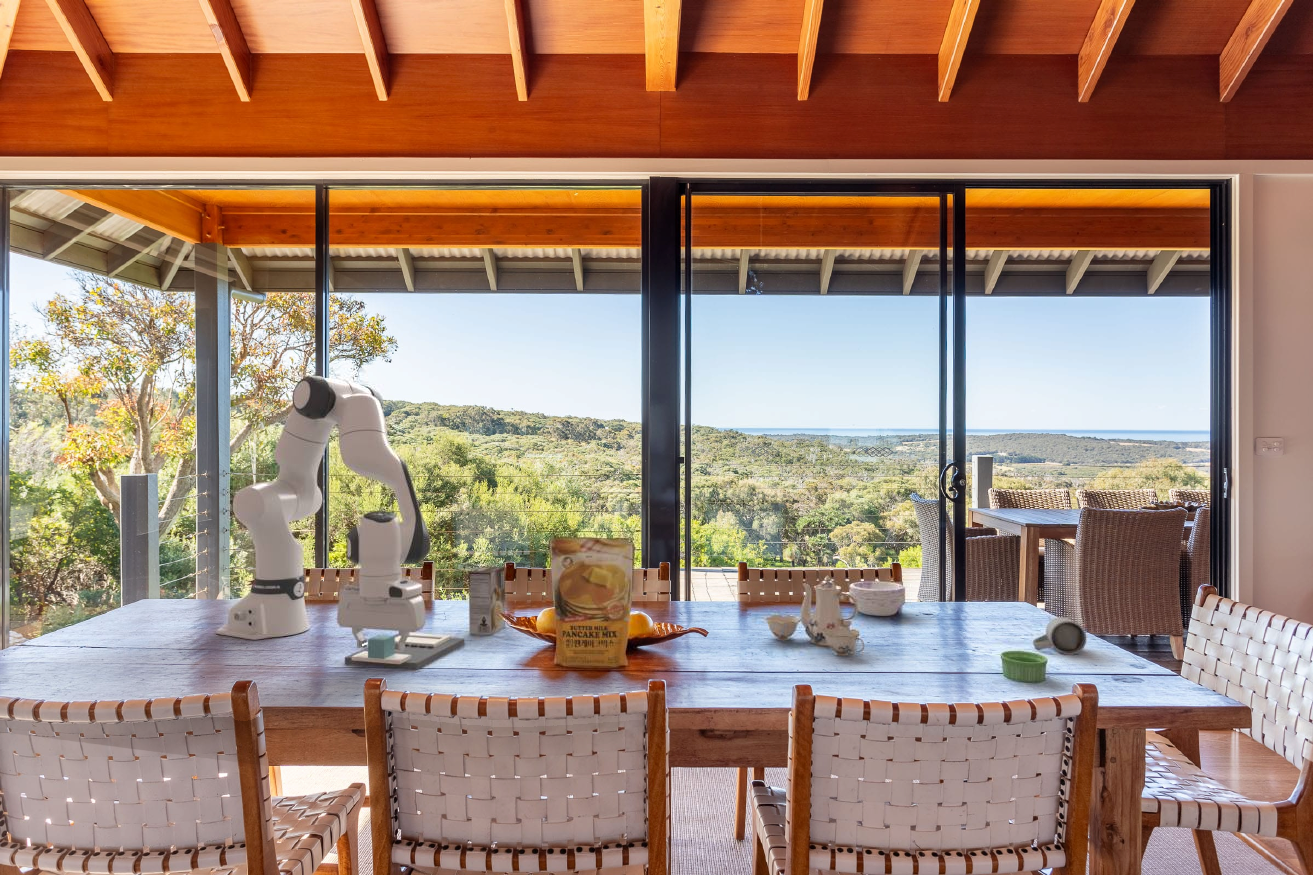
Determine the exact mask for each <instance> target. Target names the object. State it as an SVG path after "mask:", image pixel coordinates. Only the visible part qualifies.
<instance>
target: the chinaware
mask: <svg viewBox="0 0 1313 875" xmlns="http://www.w3.org/2000/svg"><path fill="white" fill-rule="evenodd" d="M802 585H803V587H804V589H805V594H804V598H803V600H802V605H801V608H800V618H798V617H797V616H796V615H793V614H787V615H785V616H783V615H781V614H776V613H775V614H772V615H770V616H769V617H768V616H765V617H764V620H765V621H766V622H767V625H768V629H769V630H770V632H771V634H773V635H774V636H775V637H776V639H775V640H776V641H780V642H783V641H785V642H787V641H790V640H789V639H790V638H791V636H793V635H794V634H795V632H796V631H797V628H798V624H799V623H800V622H801V624H802V626H803V627H804V632H805V634H806V635H807V637H808V638H810V642H811V643H812V644H814V645H818V646H822V647H829V648H830V649H831V650H832V651H834V652H833V653H832V654H834V655H836V656H842V657H846V656H848V655H850V654H851V655H853V654H854V652H857V653H861V652H863V651H864V649H865V642H864V640H863V639H862V638H860V631H859V630H858V629H855V628H852V629H851V628H850V627H851V626H852V619H854V618H855V617H856V616H857V615H858V611H859V610H858V603H857V601H856V599H855V598H854V597H853V596H852V595H851V594H850V593H847V592H844V591H843V592H840V591H841V589H842V587H841V586H839V585H836V584H835V583H834V581H833V580H831V578H830V576H829V575H826V576H825V578H824V580H822V581H821V582H820V584H818V585H817V584H816V585H814V586H813V587H814V590H815V596H816V597H815V598H816V600H815V608H814V611H813V613H812V609H811V605H812V588H811V587H810V585H809V584H808V583H805V582H804V583H802ZM845 596H847V597H849V599H850V598H851V599H852V600H853V602H854V603H853V604H854V612H853V614H852V615H851V616H850V617H846V618H845V617H844V615H843V614H842V610H841V607H840V601H844V600H845ZM859 641H860V642H861V644H862V648H861V649H860V650H858V649H855V646H856V644H857V642H859ZM848 652H849V653H848Z"/></svg>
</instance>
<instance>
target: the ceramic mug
mask: <svg viewBox="0 0 1313 875" xmlns="http://www.w3.org/2000/svg"><path fill="white" fill-rule="evenodd" d="M1032 644H1033V646H1034V649H1035V650H1044V649H1046V648H1050V647H1052V648H1054V649H1055V651H1057V652H1059V653H1061V654H1063V655H1070V656H1071V655H1076V654H1078V653H1080V652H1081V651H1083V649H1084V648H1085V646H1086V644H1087V633H1086V631H1085V629H1084V628H1083V627H1082V626H1081V624H1079V623H1077V622H1075V621H1074V620H1073V619H1070V618H1068V617H1061V616H1060V617H1055V618H1053V619H1051V620H1050V621H1049V622H1048V623H1047V625H1046V628H1045V634H1044V635H1041V636H1038V637H1036V638H1035V639H1034V640H1032Z"/></svg>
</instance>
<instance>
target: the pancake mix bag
mask: <svg viewBox="0 0 1313 875" xmlns="http://www.w3.org/2000/svg"><path fill="white" fill-rule="evenodd" d="M548 549H549V564H550V573H551V574H550V575H551V576H550V577H551V578H550V580H551V593H552V601H553V608H554V628H555V635H556V636H555V637H556V645H555V646H556V648H555V654H554V660H553V661H554V662H553V665H560V666H562V667H567V668H586V669H589V668H591V669H592V668H597V669H599V668H600V669H615V668H616V669H617V668H619V667H622V666H623V667H624V666H628V665H629V664H628V658H627V655H626V651H627V647H628V646H627V645H628V638H629V630H630V629H629V628H630V617H631V610H632V609H631V608H632V602H633V591H634V578H635V577H634V574H635V573H634V571H635V568H634V566H635V556H636V552H635V543H634V542H629V538H625V537H623V538H622V537H617V538H616V537H615V538H613V537H611V538H610V537H607V538H606V537H605V538H604V537H589V536H588V537H584V536H583V537H581V536H578V537H577V536H575V537H573V536H570V537H569V536H567V537H554V538H552V539H550V540H548Z"/></svg>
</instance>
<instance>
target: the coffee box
mask: <svg viewBox="0 0 1313 875" xmlns="http://www.w3.org/2000/svg"><path fill="white" fill-rule="evenodd" d="M468 604H469V607H468V610H469V611H468V614H469V620H468V621H469V624H468V625H469V635H477V634H479V635H481V636H493V635H494V634H496V633H497V632H499V631H501V630H503V629H504V628H505V627H506V620H505V621H504V620H503V618H502V617H501V616H500V615H499V614H500V613H504V614H505V615H506V567H505V566H493V565H492V566H488V565H486V566H481V567H479V568H476V569H473V570H471V571H469V572H468ZM479 635H478V636H479Z"/></svg>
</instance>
